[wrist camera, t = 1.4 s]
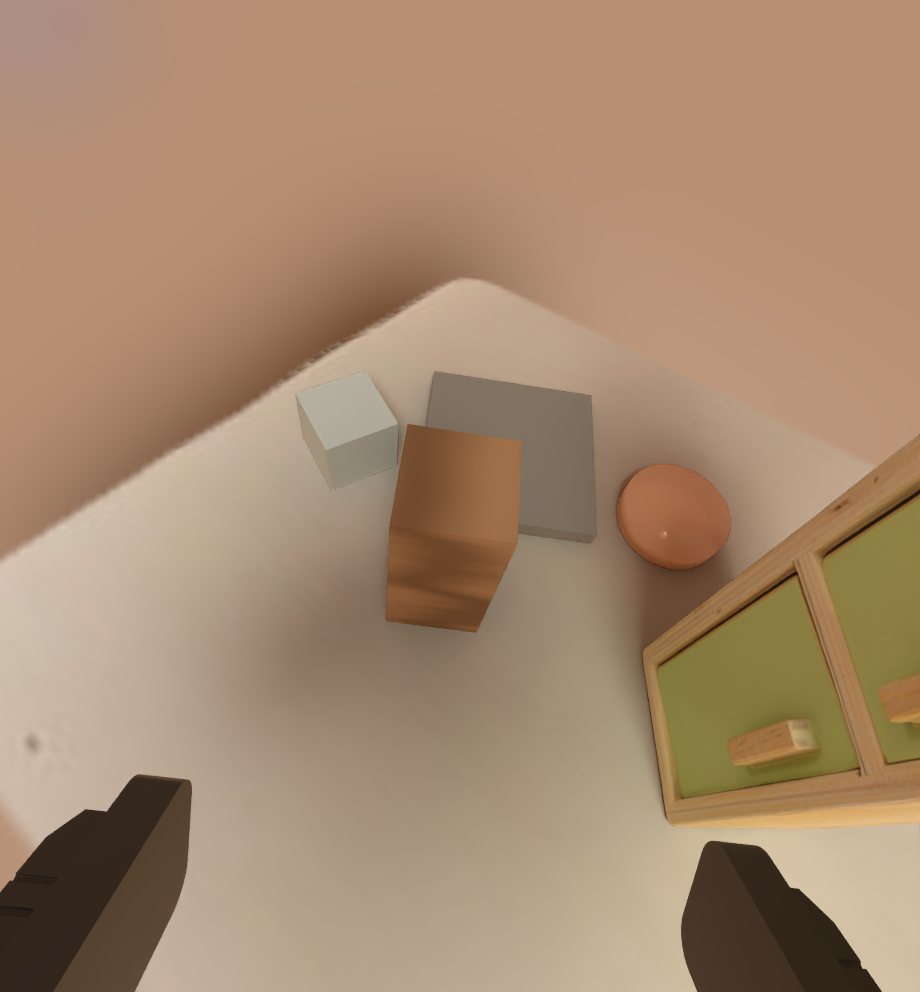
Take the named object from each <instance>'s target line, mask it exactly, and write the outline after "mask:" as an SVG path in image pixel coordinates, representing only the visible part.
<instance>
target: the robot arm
mask: <svg viewBox="0 0 920 992" xmlns="http://www.w3.org/2000/svg"><path fill="white" fill-rule="evenodd" d="M191 797H192V785H191V782H190V780H186V779H177V778H168V777H159V776H150V775H141V774H138V775H136V776H134V777H133V778H132V779H131V780H130V781H129V783H128V784H127V785H126V786H125V788H124V789H123V790H122V792H121V793H120V795H119V796H118V797H117V799H116V800H115V801H114V803H113V804H112V805H111V807H110V808H109V809H108V811H107V812H105V811H96V810H87V809H85V810H84V811H83V812H81V813H80V814H78V815H77V816H75V817H74V818H73V819H71V820H70V821H68V822H67V823H66V824H64V825H63V826H61V827H60V828H58V829H57V830H56V831H54V832H53V833H51V834H50V835H48V836H47V837H46V838H45V839H44V840H43V841H42V843H41V844H40V845H39V846H38V847H37V849H36V850H35V851H34V852H33V853H32V855H31V856H30V857H29V858H28V859H27V861H26V862H25V863H24V864H23V866H22V867H21V868H20V869H19V870H18V872H17V873H16V876H15V878H14V880H13V881H9V882H8V884H7V885H6V886H5V888H4V889H3V890H2V891H1V892H0V992H135V990H136V988H137V986H138V984H139V982H140V980H141V977H142V975H143V973H144V971H145V969H146V967H147V965H148V963H149V961H150V959H151V957H152V955H153V953H154V951H155V949H156V947H157V945H158V943H159V941H160V939H161V937H162V934H163V932H164V930H165V928H166V926H167V924H168V922H169V920H170V918H171V916H172V914H173V912H174V909H175V907H176V904H177V902H178V899H179V896H180V893H181V890H182V886H183V883H184V879H185V874H186V869H187V861H188V846H189V830H190V813H191ZM681 937H682V946H683V952H684V957H685V960H686V964H687V967H688V970H689V972H690V975H691V977H692V980H693V982H694V985H695V987H696V990H697V992H882V991H881V990H880V988H879V987H878V985H877V984H876V983H875V981H874V980H873V978H872V977H871V975H870V974H869V972H868V971H867V970H866V969H862V967H861V961H860V959H859V958H858V957H857V955H856V954H855V952H854V951H853V949H852V948H851V946H850V945H849V944H848V942H847V941H846V939H845V938H844V936H843V935H842V933H841V932H840V931H839V929H838V928H837V926H836V925H835V923H834V922H833V921H832V920H831V919H830V918H829V917H828V916H827V915H826V914H825V913H823V912H822V911H821V910H820V909H819V908H818V907H817V906H816V905H815V904H814V903H813V902H812V901H811V900H810V899H809V898H808V897H807V896H806V895H805V894H804V893H803V892H801V891H800V890H799V889H796V888H790V887H789V885H788V884H787V882H786V881H785V879H784V878H783V876H782V875H781V873H780V872H779V870H778V869H777V867H776V866H775V864H774V862H773V861H772V859H771V858H770V856H769V855H768V854H767V852H765V851H764V850H763V849H762V848H761V847H759V846H754V845H745V844H737V843H728V842H719V841H709V842H708V843H707V844H706V845H705V846H704V848H703V851H702V854H701V857H700V860H699V863H698V867H697V870H696V873H695V877H694V880H693V883H692V887H691V890H690V893H689V896H688V900H687V903H686V906H685V910H684V913H683V917H682V924H681Z"/></svg>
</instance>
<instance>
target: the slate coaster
mask: <svg viewBox="0 0 920 992" xmlns="http://www.w3.org/2000/svg"><path fill="white" fill-rule="evenodd" d="M426 427H430V428H437V429H444V430H451V431H457V432H464V433H471V434H478V435H484V436H491V437H498V438H505V439H511V440H518V441H522V451H521V474H520V497H519V520H518V533H520V534H527V535H535V536H542V537H549V538H556V539H563V540H571V541H578V542H585V543H591V542H592V541H593V540H594V538H595V537H596V535H597V532H596V506H595V479H594V452H593V426H592V399H591V395H586V394H579V393H572V392H566V391H559V390H553V389H546V388H540V387H533V386H527V385H520V384H514V383H507V382H501V381H494V380H488V379H481V378H475V377H468V376H462V375H455V374H449V373H442V372H436V371H434V378H433V384H432V391H431V397H430V404H429V410H428V416H427V423H426Z"/></svg>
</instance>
